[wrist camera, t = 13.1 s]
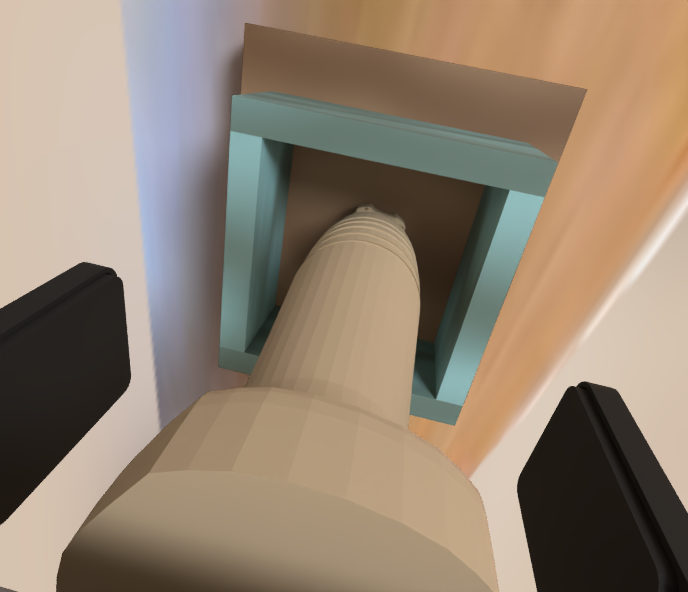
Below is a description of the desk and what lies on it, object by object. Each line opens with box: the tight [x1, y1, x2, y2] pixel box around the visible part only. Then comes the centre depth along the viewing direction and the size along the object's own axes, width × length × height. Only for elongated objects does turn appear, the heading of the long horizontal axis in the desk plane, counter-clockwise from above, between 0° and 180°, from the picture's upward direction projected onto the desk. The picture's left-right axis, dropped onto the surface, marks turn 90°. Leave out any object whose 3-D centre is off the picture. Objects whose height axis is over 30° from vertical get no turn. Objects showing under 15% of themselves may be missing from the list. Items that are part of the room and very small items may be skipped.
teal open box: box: [219, 23, 587, 426], centre depth 18 cm, size 14×12×6 cm
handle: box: [56, 203, 499, 592], centre depth 12 cm, size 5×6×15 cm
